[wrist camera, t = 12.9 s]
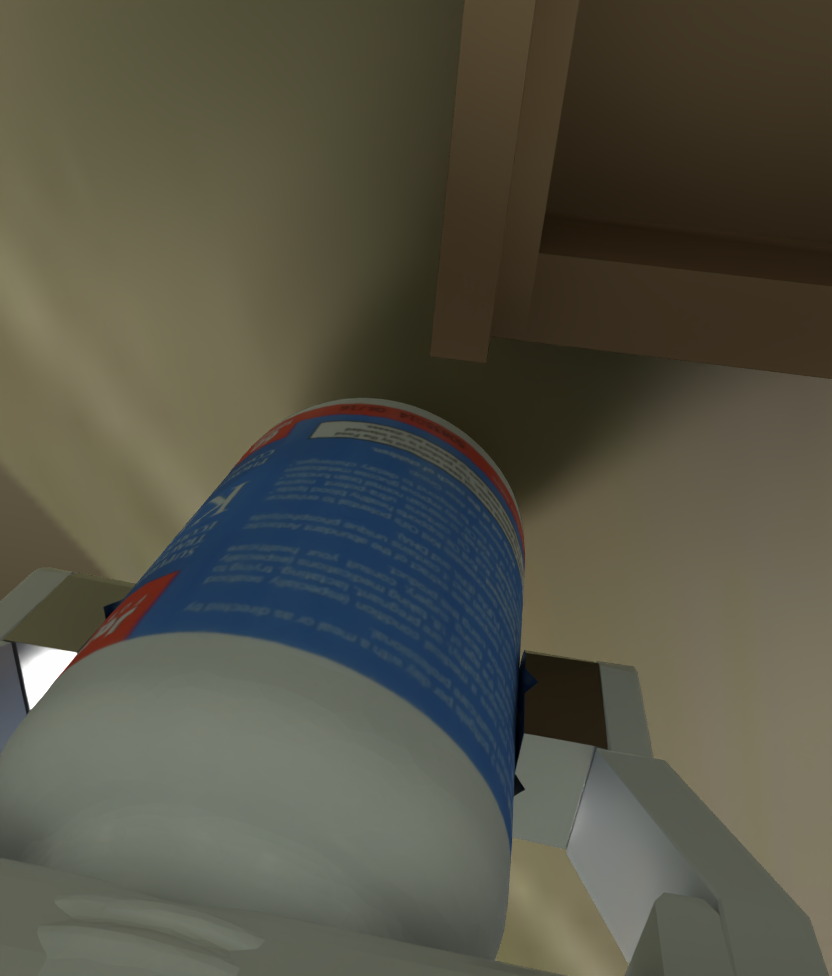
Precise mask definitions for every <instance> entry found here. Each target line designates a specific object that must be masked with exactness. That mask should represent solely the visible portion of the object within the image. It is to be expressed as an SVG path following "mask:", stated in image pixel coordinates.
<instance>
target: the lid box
mask: <svg viewBox="0 0 832 976" xmlns="http://www.w3.org/2000/svg"><path fill="white" fill-rule="evenodd" d="M490 337H497V338H505V339H513V340H521V341H529V342H537V343H545V344H553V345H561V346H569V347H577V348H586V349H594V350H602V351H610V352H618V353H626V354H634V355H642V356H650V357H658V358H666V359H674V360H682V361H690V362H699V363H707V364H715V365H723V366H731V367H739V368H747V369H755V370H763V371H771V372H779V373H787V374H795V375H803V376H812V377H820V378H828V379H832V0H465V1H464V11H463V22H462V32H461V42H460V52H459V63H458V73H457V83H456V93H455V103H454V114H453V124H452V134H451V144H450V155H449V165H448V175H447V185H446V195H445V206H444V216H443V226H442V236H441V247H440V257H439V267H438V277H437V287H436V298H435V308H434V318H433V328H432V339H431V349H430V356H432V357H440V358H448V359H455V360H463V361H471V362H479V363H486V360H487V354H488V348H489V343H490Z"/></svg>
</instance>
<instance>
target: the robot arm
mask: <svg viewBox="0 0 832 976" xmlns="http://www.w3.org/2000/svg"><path fill="white" fill-rule="evenodd" d="M135 585H136V584H135V583H129V582H124V581H119V580H114V579H109V578H104V577H99V576H93V575H88V574H83V573H74V572H70V571H65V570H59V569H54V568H48V567H44V568H40V569H36V570H35V571H33V572H32V573H31V574H30V575H29V576H28V577H27V578H26V579H25V580H23V581H22V582H21V583H20V584H19V585H18V586H17V587H16V588H15V589H14V590H12V591H11V592H10V593H9V594H8V595H7V596H6V597H4V598H3V599H2V600H1V601H0V754H1V752H2V750H3V749H4V747H5V745H6V744H7V742H8V740H9V739H10V737H11V736H12V734H13V733H14V731H15V730H16V729H17V727H18V726H19V725H20V723H21V722H22V721H23V719H24V718H25V717H26V715H27V714H28V713H29V711H30V710H31V709H32V708H33V707H34V705H35V704H36V703H37V702H38V701H39V699H40V698H41V697H42V696H43V695H44V694H45V692H46V691H47V690H48V688H49V687H50V686H51V684H52V683H53V682H54V680H55V679H56V678H57V677H58V676H59V675H60V674H61V672H62V671H63V670H64V669H65V668H66V667H67V666H68V664H69V663H70V662H71V661H72V660H73V658H74V657H75V656H76V655H77V654H78V652H79V651H80V650H81V649H82V648H83V646H84V645H85V644H86V643H87V642H88V640H89V639H90V638H91V637H92V636H93V634H94V633H95V632H96V631H97V630H98V628H99V627H100V626H101V625H102V624H103V622H104V621H105V620H106V619H107V618H108V617H109V616H110V614H111V613H112V612H113V611H114V610H115V609H116V608H117V606H118V605H119V604H120V603H121V602H122V600H123V599H124V598H125V597H126V596H127V594H128V593H129V592H130V591H131V590H132V588H133V587H134V586H135ZM512 838H517V839H521V840H526V841H530V842H535V843H539V844H544V845H548V846H553V847H557V848H562V849H567V851H566V853H567V855H568V857H569V859H570V861H571V862H572V864H573V866H574V868H575V869H576V871H577V873H578V875H579V877H580V878H581V880H582V882H583V884H584V886H585V887H586V889H587V891H588V893H589V894H590V896H591V898H592V900H593V902H594V903H595V905H596V907H597V909H598V911H599V912H600V914H601V916H602V918H603V919H604V921H605V923H606V925H607V927H608V928H609V930H610V932H611V934H612V935H613V937H614V939H615V941H616V943H617V944H618V946H619V948H620V950H621V952H622V953H623V955H624V957H625V959H626V960H627V962H628V964H629V966H628V968H627V971H626V973H625V976H829V974H828V971H827V968H826V965H825V962H824V959H823V956H822V953H821V950H820V948H819V945H818V942H817V939H816V936H815V933H814V930H813V927H812V924H811V921H810V918H809V917H808V916H807V915H806V913H805V912H804V911H803V910H802V909H801V908H800V907H799V906H798V905H797V904H796V903H795V902H794V900H793V899H792V898H791V897H790V896H789V895H788V894H787V893H786V892H785V891H784V890H783V888H782V887H781V886H780V885H779V884H778V883H777V882H776V881H775V880H774V879H773V878H772V876H771V875H770V874H769V873H768V872H767V871H766V870H765V869H764V868H763V867H762V866H761V864H760V863H759V862H758V861H757V860H756V859H755V858H754V857H753V856H752V855H751V854H750V853H749V851H748V850H747V849H746V848H745V847H744V846H743V845H742V844H741V843H740V842H739V841H738V839H737V838H736V837H735V836H734V835H733V834H732V833H731V832H730V831H729V830H728V829H727V827H726V826H725V825H724V824H723V823H722V822H721V821H720V820H719V819H718V818H717V817H716V816H715V814H714V813H713V812H712V811H711V810H710V809H709V808H708V807H707V806H706V805H705V804H704V802H703V801H702V800H701V799H700V798H699V797H698V796H697V795H696V794H695V793H694V792H693V790H692V789H691V788H690V787H689V786H688V785H687V784H686V783H685V782H684V781H683V780H682V778H681V777H680V776H679V775H678V774H677V773H676V772H675V771H674V770H673V769H672V768H671V767H670V765H669V764H668V763H667V762H666V761H665V760H660V759H654V758H653V752H652V747H651V742H650V736H649V731H648V725H647V720H646V714H645V709H644V704H643V698H642V693H641V687H640V682H639V676H638V672H637V670H636V669H635V668H634V666H627V665H620V664H613V663H607V662H600V661H597V662H593V661H587V660H581V659H575V658H569V657H563V656H557V655H551V654H544V653H538V652H532V651H526V650H524V652H523V655H522V659H521V664H520V668H519V683H518V707H517V725H516V746H515V776H514V801H513V830H512ZM65 893H102V894H114V895H121V896H128V897H135V898H141V899H148V900H153V901H159V902H164V903H169V904H174V905H179V906H184V907H187V908H191V909H194V910H197V911H200V912H204V913H207V914H210V915H214V916H217V917H220V918H223V919H226V920H228V921H230V922H233V923H235V924H238V925H240V926H243V927H245V928H247V929H250V930H252V931H254V932H256V933H258V934H260V935H261V936H262V937H263V938H264V939H265V941H264V942H263V944H262V945H261V946H260V947H259V948H257V949H249V950H236V951H230V958H231V959H233V961H234V963H235V964H236V965H237V966H238V967H240V970H239V972H238V975H237V976H566V975H561V974H557V973H552V972H547V971H542V970H537V969H533V968H528V967H523V966H518V965H514V964H509V963H504V962H499V961H494V960H490V959H485V958H480V957H475V956H470V955H466V954H461V953H456V952H451V951H446V950H442V949H437V948H432V947H427V946H422V945H417V944H413V943H408V942H403V941H398V940H393V939H389V938H384V937H379V936H374V935H369V934H365V933H360V932H355V931H350V930H345V929H341V928H336V927H331V926H326V925H321V924H317V923H312V922H307V921H302V920H297V919H292V918H288V917H283V916H278V915H273V914H268V913H264V912H259V911H250V910H242V909H236V908H222V907H210V906H200V905H185V904H180V903H176V902H171V901H166V900H161V899H158V898H155V897H152V896H148V895H145V894H141V893H138V892H135V891H132V890H130V889H127V888H125V887H123V886H121V885H118V884H116V883H113V882H109V881H106V880H102V879H99V878H96V877H92V876H87V875H82V874H77V873H73V872H68V871H63V870H58V869H53V868H49V867H44V866H39V865H34V864H30V863H25V862H20V861H15V860H10V859H6V858H1V857H0V976H38V974H39V972H40V970H41V968H42V966H43V964H44V962H45V960H46V959H47V954H46V952H45V950H44V949H43V947H42V945H41V943H40V940H39V937H38V934H37V930H38V927H39V925H44V924H49V923H53V922H61V921H65V920H68V919H71V918H72V917H71V916H70V915H68V914H66V913H65V912H64V911H63V910H62V909H60V908H59V907H58V906H57V905H56V904H55V903H54V899H55V898H56V897H57V896H58V895H60V894H65Z"/></svg>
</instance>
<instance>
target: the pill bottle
mask: <svg viewBox="0 0 832 976" xmlns="http://www.w3.org/2000/svg"><path fill="white" fill-rule="evenodd" d="M524 568H525V548H524V533H523V526H522V520H521V516H520V512H519V508H518V505H517V502H516V499H515V497H514V494H513V492H512V490H511V488H510V486H509V484H508V482H507V480H506V478H505V477H504V475H503V473H502V472H501V470H500V469H499V468H498V466H497V465H496V464H495V462H494V461H493V460H492V459H491V457H490V456H489V455H488V454H487V453H486V452H485V450H484V449H483V448H482V447H480V446H479V445H478V444H477V443H476V442H475V441H474V440H473V439H472V438H471V437H469V436H468V435H467V434H466V433H464V432H463V431H461V430H460V429H459V428H457V427H456V426H454V425H453V424H451V423H449V422H448V421H446V420H444V419H442V418H441V417H439V416H437V415H434V414H432V413H430V412H428V411H426V410H423V409H420V408H418V407H415V406H412V405H408V404H405V403H401V402H396V401H391V400H385V399H376V398H351V399H341V400H335V401H330V402H325V403H322V404H318V405H315V406H312V407H309V408H306V409H304V410H302V411H299V412H297V413H295V414H293V415H291V416H289V417H288V418H286V419H284V420H283V421H281V422H280V423H278V424H277V425H276V426H274V427H273V428H272V429H271V430H269V431H268V432H267V433H266V434H265V435H264V436H263V437H262V438H260V439H259V440H258V441H257V442H256V443H255V444H254V445H253V446H252V447H251V448H250V449H249V450H248V451H247V452H246V453H245V455H244V456H243V457H242V458H241V459H240V461H239V462H238V463H237V464H236V465H235V466H234V468H233V469H232V470H231V472H230V473H229V474H228V476H227V477H226V478H225V479H224V480H223V481H222V483H221V484H220V485H219V486H218V487H217V489H216V490H215V491H214V492H213V493H212V494H211V496H210V497H209V498H208V499H207V500H206V502H205V503H204V504H203V505H202V506H201V508H200V509H199V510H198V511H197V512H196V513H195V515H194V516H193V517H192V518H191V519H190V520H189V522H188V523H187V524H186V525H185V526H184V528H183V529H182V530H181V531H180V532H179V534H178V535H177V536H176V537H175V538H174V539H173V541H172V542H171V543H170V544H169V546H168V547H167V548H166V549H165V551H164V552H163V553H162V554H161V555H160V556H159V558H158V559H157V560H156V561H155V562H154V564H153V565H152V566H151V567H150V568H149V570H148V571H147V572H146V573H145V574H144V575H143V577H142V578H141V579H140V580H139V581H138V582H137V584H136V585H135V586H134V587H133V588H132V590H131V591H130V592H129V593H128V594H127V596H126V597H125V598H124V599H123V600H122V602H121V603H120V604H119V605H118V606H117V608H116V609H115V610H114V611H113V612H112V613H111V614H110V616H109V617H108V618H107V619H106V620H105V621H104V622H103V624H102V625H101V626H100V627H99V628H98V630H97V631H96V632H95V633H94V634H93V636H92V637H91V638H90V639H89V640H88V642H87V643H86V644H85V645H84V646H83V648H82V649H81V650H80V651H79V652H78V654H77V655H76V656H75V657H74V658H73V660H72V661H71V662H70V663H69V664H68V666H67V667H66V668H65V669H64V670H63V671H62V672H61V674H60V675H59V676H58V677H57V678H56V679H55V680H54V682H53V683H52V684H51V686H50V687H49V688H48V690H47V691H46V692H45V694H44V695H43V696H42V697H41V698H40V699H39V701H38V702H37V703H36V704H35V705H34V707H33V708H32V709H31V710H30V711H29V713H28V714H27V715H26V717H25V718H24V719H23V721H22V722H21V723H20V725H19V726H18V727H17V729H16V730H15V731H14V733H13V734H12V736H11V737H10V739H9V740H8V742H7V744H6V745H5V747H4V749H3V750H2V752H1V754H0V857H1V858H6V859H10V860H15V861H20V862H25V863H30V864H34V865H39V866H44V867H49V868H53V869H58V870H63V871H68V872H73V873H77V874H82V875H87V876H92V877H96V878H99V879H102V880H106V881H109V882H113V883H116V884H118V885H121V886H123V887H125V888H127V889H130V890H132V891H135V892H138V893H141V894H145V895H148V896H152V897H155V898H158V899H161V900H166V901H171V902H176V903H180V904H185V905H200V906H210V907H222V908H236V909H242V910H250V911H259V912H264V913H268V914H273V915H278V916H283V917H288V918H292V919H297V920H302V921H307V922H312V923H317V924H321V925H326V926H331V927H336V928H341V929H345V930H350V931H355V932H360V933H365V934H369V935H374V936H379V937H384V938H389V939H393V940H398V941H403V942H408V943H413V944H417V945H422V946H427V947H432V948H437V949H442V950H446V951H451V952H456V953H461V954H466V955H470V956H475V957H480V958H485V959H490V960H495V958H496V955H497V953H498V950H499V946H500V943H501V939H502V936H503V932H504V927H505V920H506V912H507V905H508V893H509V879H510V864H511V848H512V830H513V801H514V776H515V746H516V725H517V707H518V683H519V665H520V645H521V624H522V608H523V589H524ZM54 903H55V904H56V905H57V906H58V907H59V908H60V909H62V910H63V911H64V912H65V913H66V914H68V915H70V916H71V917H72V918H71V919H68V920H65V921H61V922H53V923H49V924H44V925H39V927H38V930H37V934H38V937H39V940H40V943H41V945H42V947H43V949H44V950H45V952H46V954H47V959H46V960H45V962H44V964H43V966H42V968H41V970H40V972H39V974H38V976H237V975H238V972H239V970H240V967H238V966H237V965H236V964H235V963H234V961H233V959H231V958H230V951H236V950H249V949H257V948H259V947H260V946H261V945H262V944H263V942H264V941H265V939H264V938H263V937H262V936H261V935H260V934H258V933H256V932H254V931H252V930H250V929H247V928H245V927H243V926H240V925H238V924H235V923H233V922H230V921H228V920H226V919H223V918H220V917H217V916H214V915H210V914H207V913H204V912H200V911H197V910H194V909H191V908H187V907H184V906H179V905H174V904H169V903H164V902H159V901H153V900H148V899H141V898H135V897H128V896H121V895H114V894H102V893H65V894H60V895H58V896H57V897H56V898H55V899H54Z"/></svg>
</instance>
